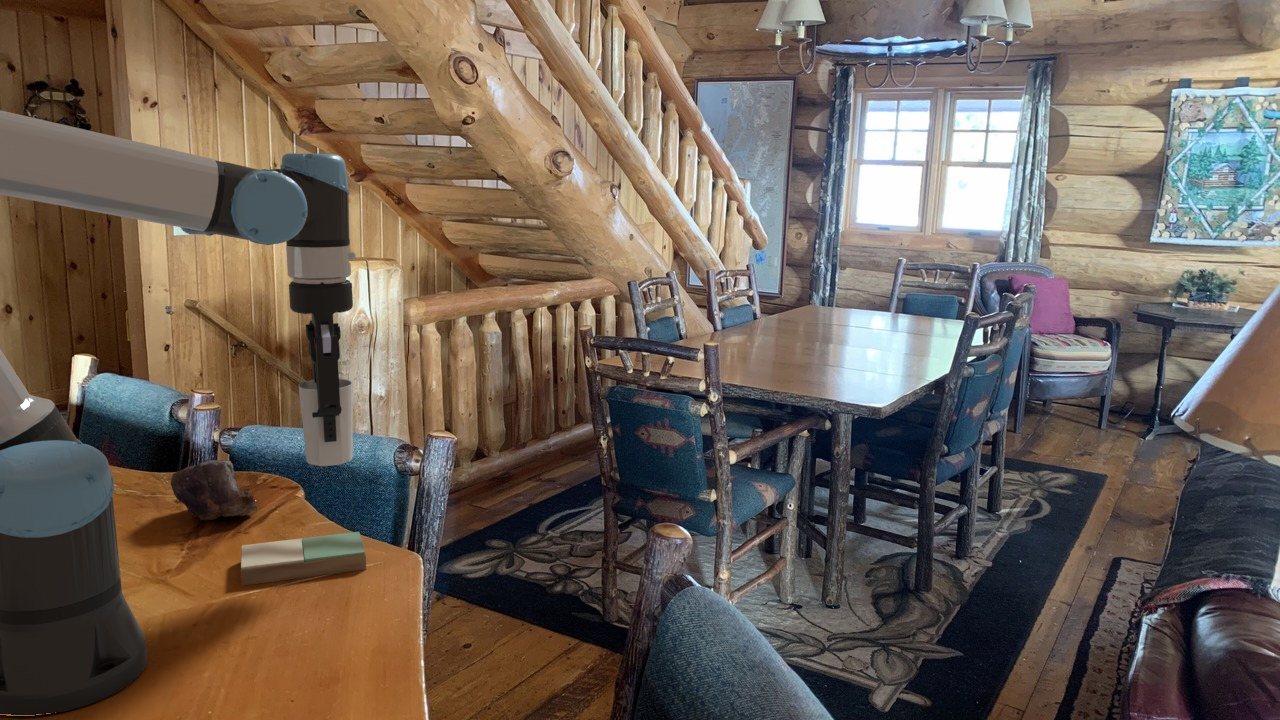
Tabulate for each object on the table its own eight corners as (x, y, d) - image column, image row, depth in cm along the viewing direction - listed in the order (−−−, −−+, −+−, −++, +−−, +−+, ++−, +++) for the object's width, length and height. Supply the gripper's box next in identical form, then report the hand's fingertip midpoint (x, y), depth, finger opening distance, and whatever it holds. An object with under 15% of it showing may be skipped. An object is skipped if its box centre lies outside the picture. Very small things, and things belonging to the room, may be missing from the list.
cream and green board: (366, 569, 124) (365, 552, 124) (241, 585, 119) (240, 568, 118) (360, 546, 131) (359, 530, 131) (242, 560, 126) (241, 544, 125)
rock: (235, 506, 149) (163, 520, 142) (229, 450, 149) (157, 461, 141) (265, 516, 140) (190, 532, 133) (259, 456, 140) (184, 468, 132)
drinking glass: (337, 448, 128) (333, 375, 126) (366, 458, 124) (363, 383, 122) (292, 459, 123) (287, 384, 121) (321, 470, 119) (317, 392, 117)
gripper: (359, 287, 112) (366, 476, 116) (345, 270, 129) (352, 435, 133) (291, 289, 109) (301, 482, 114) (286, 271, 126) (295, 440, 131)
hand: (329, 456), depth 123 cm, fingers closed on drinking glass, 6 cm apart
